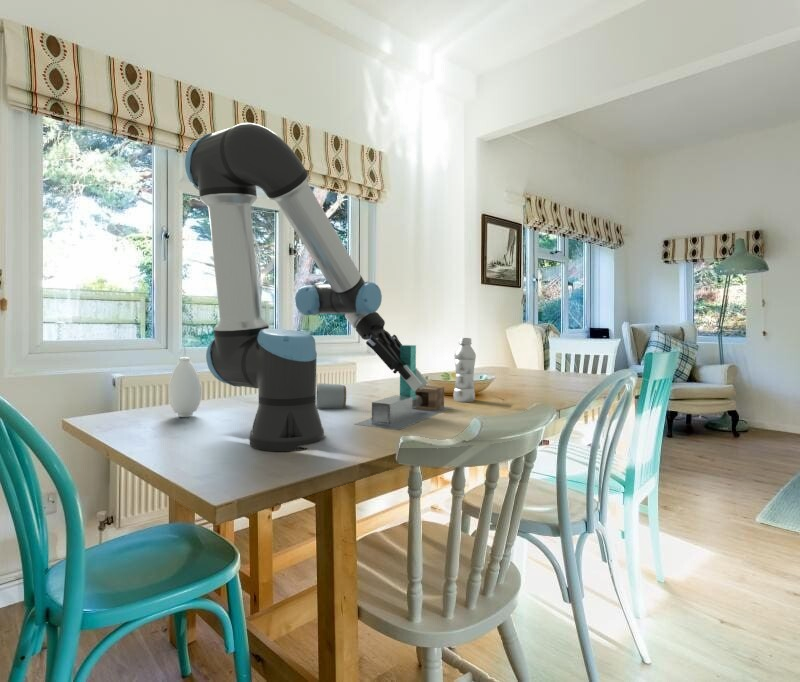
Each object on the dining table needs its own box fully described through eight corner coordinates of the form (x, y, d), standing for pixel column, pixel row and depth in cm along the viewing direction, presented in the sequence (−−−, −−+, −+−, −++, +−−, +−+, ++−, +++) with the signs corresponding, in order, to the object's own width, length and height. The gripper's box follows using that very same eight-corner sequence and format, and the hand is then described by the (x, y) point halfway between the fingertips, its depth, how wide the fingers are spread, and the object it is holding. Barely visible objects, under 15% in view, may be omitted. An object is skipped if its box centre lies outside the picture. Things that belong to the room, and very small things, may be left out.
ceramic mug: (347, 412, 140) (347, 384, 140) (317, 412, 138) (317, 384, 138) (343, 405, 151) (343, 380, 150) (315, 406, 149) (315, 380, 149)
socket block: (435, 410, 138) (435, 389, 137) (408, 408, 141) (408, 387, 141) (444, 407, 143) (444, 386, 143) (418, 404, 147) (418, 384, 146)
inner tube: (392, 418, 121) (393, 347, 120) (381, 416, 122) (382, 347, 121) (422, 406, 136) (423, 344, 135) (412, 405, 137) (413, 344, 137)
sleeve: (389, 426, 118) (389, 404, 118) (371, 424, 120) (371, 402, 120) (412, 417, 128) (412, 396, 128) (395, 415, 131) (395, 395, 130)
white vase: (201, 413, 137) (200, 346, 136) (201, 418, 129) (201, 347, 128) (169, 414, 134) (168, 346, 133) (167, 420, 126) (166, 348, 125)
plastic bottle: (463, 401, 160) (464, 337, 159) (479, 404, 154) (480, 338, 153) (448, 403, 156) (449, 337, 155) (464, 406, 150) (465, 338, 149)
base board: (399, 434, 114) (399, 429, 114) (354, 428, 120) (354, 424, 120) (451, 411, 143) (451, 407, 143) (413, 407, 148) (413, 403, 148)
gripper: (372, 329, 145) (424, 392, 138) (340, 330, 130) (397, 400, 124) (388, 310, 142) (443, 373, 135) (358, 310, 128) (417, 380, 121)
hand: (421, 386), depth 129 cm, fingers closed on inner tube, 3 cm apart
